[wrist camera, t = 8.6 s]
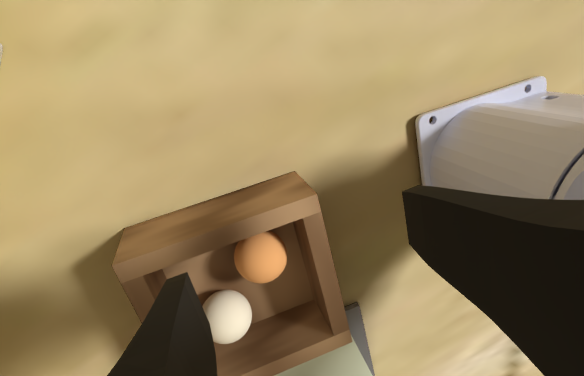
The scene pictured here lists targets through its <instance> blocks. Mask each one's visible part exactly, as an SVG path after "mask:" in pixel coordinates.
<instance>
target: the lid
mask: <svg viewBox="0 0 584 376" xmlns="http://www.w3.org/2000/svg"><path fill="white" fill-rule="evenodd" d="M351 337H352V336H351ZM274 376H373V375H372V374H371V372H370V370H369V368H368V366H367V364H366V362H365V360H364V358H363V356H362V355H361V353H360V351H359V349H358V347H357V345H356V343H355V341H354V339H353V337H352V342H351V343H349V344H347V345H344V346H342V347H340V348H337V349H335V350H333V351H330V352H328V353H326V354H323V355H321V356H319V357H316V358H314V359H312V360H309V361H307V362H305V363H302V364H300V365H298V366H295V367H293V368H291V369H288V370H286V371H284V372H281V373H279V374H277V375H274Z"/></svg>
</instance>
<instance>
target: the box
mask: <svg viewBox="0 0 584 376" xmlns="http://www.w3.org/2000/svg"><path fill="white" fill-rule="evenodd" d="M266 231H271V232H273V233H275V234H276V235H278V236H279V237H280V238H281V239H282V241H283V242H284V244H285V246H286V249H287V263H286V266H285V268H284V270H283V272H282V273H281V274H280V275H279V276H278V277H277V278H276V279H274V280H273V281H270V282H267V283H253V282H250V281H248V280H246V279H245V278H244V277H243V276H242V275H241V274H240V273H239V272H238V270H237V268H236V266H235V261H234V252H235V248H236V246H237V244H238V242H239V241H241V240H243V239H246V238H249V237H252V236H255V235H257V234H260V233H263V232H266ZM112 268H113V270H114V272H115V273H116V275H117V277H118V279H119V281H120V283H121V285H122V287H123V289H124V290H125V292H126V294H127V296H128V298H129V300H130V302H131V304H132V306H133V307H134V309H135V311H136V313H137V315H138V317H139V319H140V321H141V323H143V321H144V319H145V318H146V316H147V314H148V312H149V311H150V309H151V307H152V305H153V303H154V301H155V300H156V298H157V296H158V294H159V292H160V290H161V289H162V287H163V285H164V283H165V281H166V280H167V279H169V278H172V277H174V276H177V275H180V274H182V273H185V272H187V273H188V275H189V277H190V280H191V282H192V284H193V287H194V289H195V291H196V293H197V296H198V298H199V300H200V303H201V305H202V306H203V304H204V302H205V301H206V300H207V299H208V298H209V297H210V296H211V295H212V294H214V293H216V292H218V291H221V290H234V291H237V292H239V293H241V294H242V295H243V296H244V297H245V298H246V299H247V300H248V302H249V304H250V306H251V310H252V320H251V324H250V327H249V329H248V331H247V332H246V334H245V335H244V336H243V337H242V338H240V339H239V340H237V341H235V342H233V343H230V344H219V343H216V342H214V347H215V352H216V363H217V376H274V375H277V374H279V373H281V372H284V371H286V370H288V369H291V368H293V367H295V366H298V365H300V364H302V363H305V362H307V361H309V360H312V359H314V358H316V357H319V356H321V355H323V354H326V353H328V352H330V351H333V350H335V349H337V348H340V347H342V346H344V345H347V344H349V343H351V342H352V337H351V333H350V329H349V325H348V321H347V317H346V312H345V308H344V304H343V300H342V296H341V292H340V287H339V283H338V279H337V275H336V271H335V267H334V262H333V258H332V254H331V250H330V246H329V242H328V237H327V233H326V229H325V225H324V221H323V216H322V212H321V208H320V204H319V200H318V196H317V193H316V192H315V191H314V190H313V189H312V188H311V187H310V186H309V185H308V184H307V183H306V182H305V181H304V180H303V179H302V178H301V177H300V176H299V175H298V174H297V173H296V172H295V171H294V172H291V173H288V174H285V175H282V176H279V177H276V178H273V179H270V180H267V181H264V182H261V183H258V184H255V185H252V186H249V187H246V188H243V189H240V190H237V191H234V192H231V193H228V194H225V195H222V196H219V197H216V198H213V199H210V200H207V201H204V202H201V203H198V204H195V205H192V206H189V207H186V208H183V209H180V210H177V211H174V212H171V213H168V214H166V215H163V216H160V217H157V218H154V219H151V220H148V221H145V222H142V223H139V224H136V225H133V226H130V227H127V228H124V231H123V234H122V237H121V240H120V243H119V245H118V248H117V251H116V254H115V257H114V260H113V263H112Z"/></svg>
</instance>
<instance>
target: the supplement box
mask: <svg viewBox="0 0 584 376" xmlns="http://www.w3.org/2000/svg"><path fill="white" fill-rule="evenodd" d="M2 51H3V46H2V44H0V64H1V58H2Z"/></svg>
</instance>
